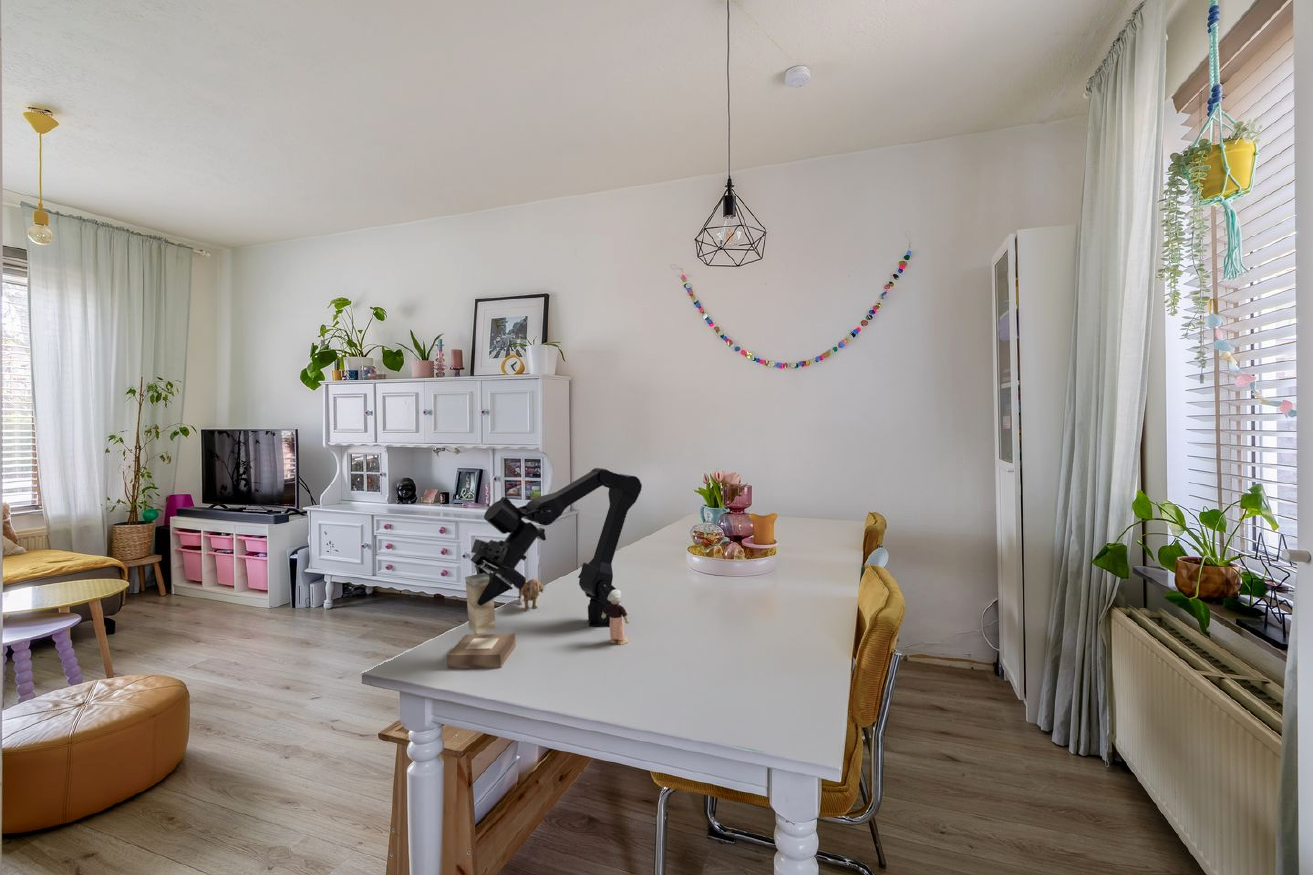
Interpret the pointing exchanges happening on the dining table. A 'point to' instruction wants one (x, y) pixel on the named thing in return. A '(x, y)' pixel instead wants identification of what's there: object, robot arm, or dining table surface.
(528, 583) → the lion figurine
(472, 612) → the oak column
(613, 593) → the grandmother figurine
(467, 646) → the plinth
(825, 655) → the dining table surface
